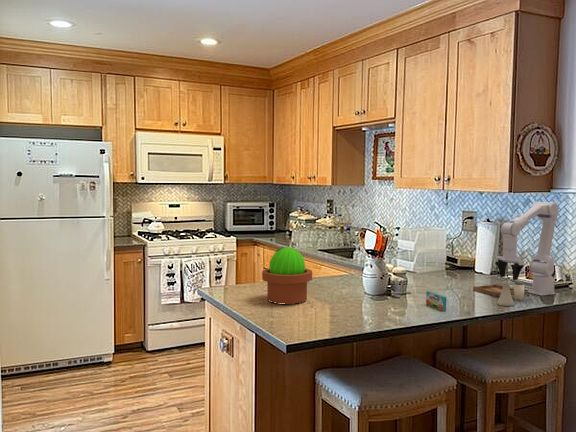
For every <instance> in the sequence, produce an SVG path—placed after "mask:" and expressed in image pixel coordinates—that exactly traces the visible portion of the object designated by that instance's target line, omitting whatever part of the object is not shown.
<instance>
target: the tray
mask: <svg viewBox="0 0 576 432" xmlns="http://www.w3.org/2000/svg"><path fill="white" fill-rule="evenodd" d="M509 288H510V293H511V296H514V287H509ZM502 289H503V285H501V284H488V285H487V284H486V285H478V286H477V285H476V286H473V292H477V293H481V294H484V295H487V296H491V297H495V298H499V297H500V295H501V292H502Z"/></svg>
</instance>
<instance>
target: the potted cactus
mask: <svg viewBox="0 0 576 432" xmlns="http://www.w3.org/2000/svg"><path fill="white" fill-rule="evenodd" d="M305 262H306V261H305V258H304V257H303V254H302V253H300V251H298V249H295V248H294V247H292V246H291V247H290V246H288V247H287V246H286V247H285V246H283V247H279V248H278V249H277V250H275V251H274V253H273V255H272V256H271V259H270V260H269V266H268V267H269V268H268V267H267V268H264V270H262V271H261V278H262V281H264V282H267V284H266V285H267V286H266V287H267V289H266V290H267V292H266V293H267V301H268V300H270V301H272V302H276V303H285V304H295V303H300V304H302V303H301V302H303V303H305V302H306V301H308V300H307V299H308V282H311V281H313V270H311V269H309V268H306V263H305ZM304 301H305V302H304ZM295 305H296V304H295Z"/></svg>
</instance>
